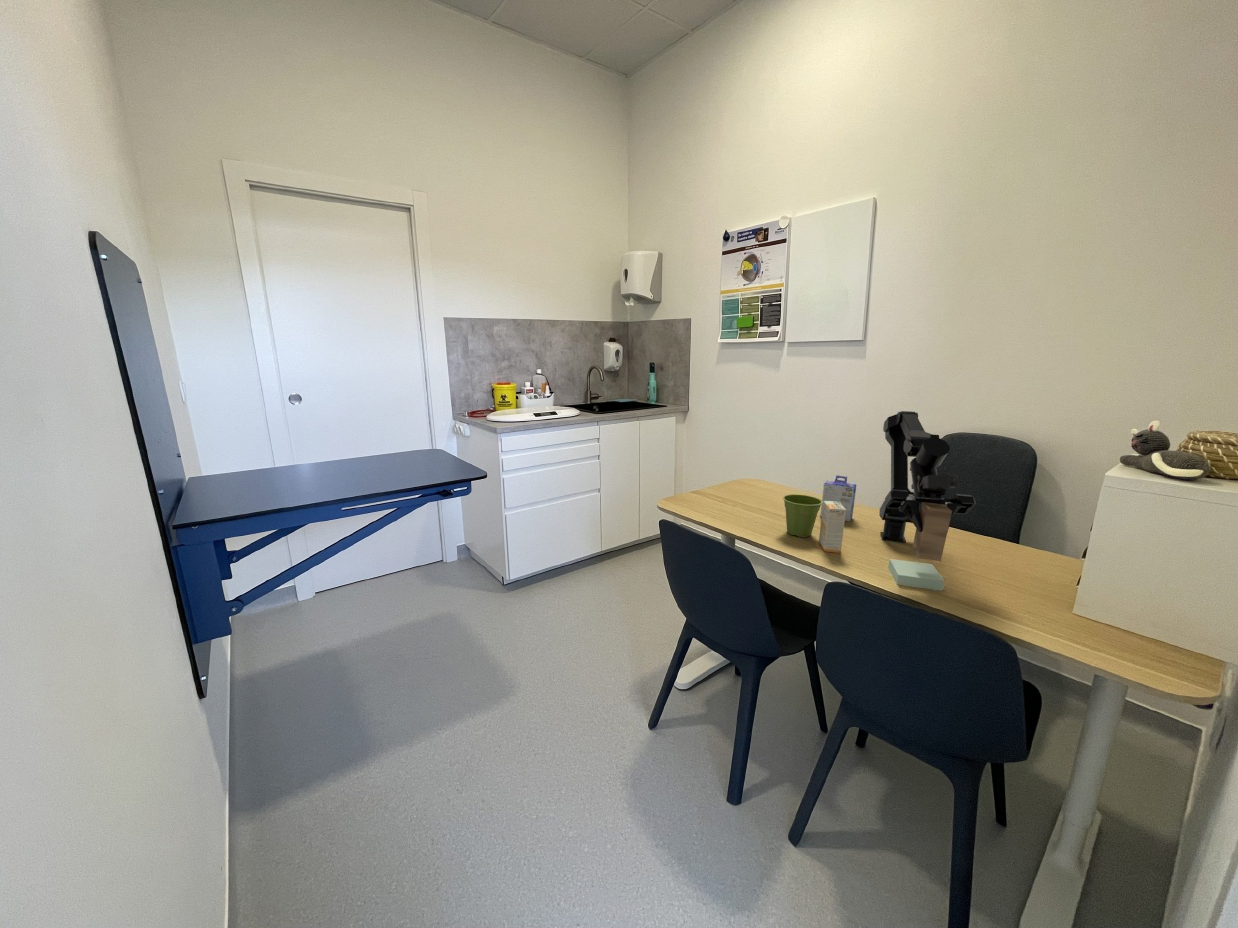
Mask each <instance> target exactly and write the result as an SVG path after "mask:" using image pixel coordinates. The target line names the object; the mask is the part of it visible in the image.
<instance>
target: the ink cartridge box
mask: <svg viewBox="0 0 1238 928" xmlns="http://www.w3.org/2000/svg"><path fill="white" fill-rule="evenodd" d="M842 479H843V480H842ZM847 481H848V476H843V475H838V474H837V475H836V476H835V479H834V481H832V480H826V481H825V482H823V490H822V498H821V500H822V501H836V502H840V503H841V504H842V506H843V507H844V508H845V509H846V515H845V522H851V521H852V519H853V514H854V507H855V500H856V491H857V484H855V483H850V482H847ZM822 510H823V504H821V506H820V514H819V516H820V517H822Z"/></svg>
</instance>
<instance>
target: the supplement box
mask: <svg viewBox="0 0 1238 928" xmlns="http://www.w3.org/2000/svg"><path fill="white" fill-rule="evenodd" d="M845 515H846V509H845V508H844V507H843V506H842V504H841V503H840V502H836V501H823V510H822V516H821V518H820V519H821V521H820V528H819V537H818V543H819V545H820V546H821V548H822V550H823V552H828V553H837V554H838V553H839V554H840V553H841V552H842V546H843V538H844V537H843V536H844V529H845V522H846V521H845Z"/></svg>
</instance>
